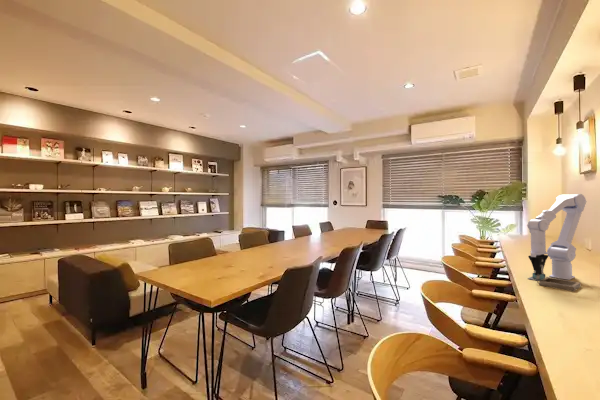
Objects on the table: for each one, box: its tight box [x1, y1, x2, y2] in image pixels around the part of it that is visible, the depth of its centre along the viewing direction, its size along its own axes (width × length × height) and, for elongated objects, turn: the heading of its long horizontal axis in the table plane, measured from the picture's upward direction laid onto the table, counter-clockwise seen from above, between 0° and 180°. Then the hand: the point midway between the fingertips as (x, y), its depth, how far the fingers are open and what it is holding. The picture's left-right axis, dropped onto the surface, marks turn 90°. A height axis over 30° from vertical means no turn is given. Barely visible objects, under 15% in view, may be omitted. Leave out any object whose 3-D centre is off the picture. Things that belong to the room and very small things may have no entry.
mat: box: [527, 275, 541, 282], centre depth 143 cm, size 8×7×1 cm
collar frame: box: [538, 276, 582, 292], centre depth 132 cm, size 11×12×2 cm
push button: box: [531, 260, 546, 280], centre depth 143 cm, size 7×5×10 cm
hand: (538, 269), depth 143 cm, fingers closed on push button, 5 cm apart
